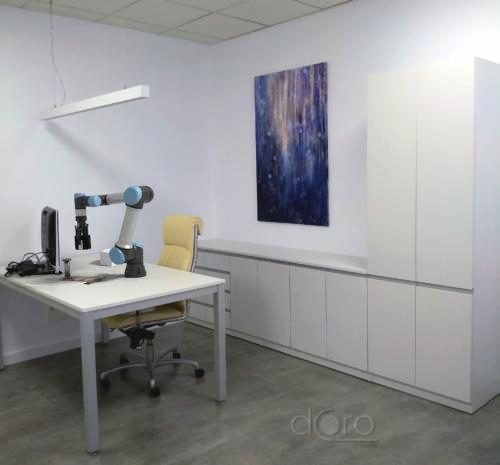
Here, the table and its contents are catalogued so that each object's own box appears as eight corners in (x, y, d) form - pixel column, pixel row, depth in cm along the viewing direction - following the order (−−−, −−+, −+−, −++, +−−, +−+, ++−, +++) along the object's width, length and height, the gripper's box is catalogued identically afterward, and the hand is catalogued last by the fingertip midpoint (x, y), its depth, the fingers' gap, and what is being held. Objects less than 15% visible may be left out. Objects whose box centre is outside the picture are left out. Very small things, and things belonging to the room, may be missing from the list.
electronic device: (88, 249, 370) (87, 235, 369) (75, 249, 372) (74, 235, 371) (91, 249, 374) (90, 234, 373) (78, 249, 376) (77, 234, 375)
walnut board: (103, 279, 360) (102, 277, 360) (90, 284, 346) (90, 281, 346) (68, 278, 368) (67, 275, 367) (54, 282, 353) (54, 279, 353)
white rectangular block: (117, 260, 440) (116, 247, 438) (121, 265, 413) (121, 252, 411) (98, 261, 435) (98, 248, 433) (102, 267, 408) (101, 253, 406)
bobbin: (74, 277, 361) (73, 258, 359) (68, 279, 355) (67, 259, 354) (66, 277, 363) (65, 258, 361) (61, 279, 357) (59, 259, 355)
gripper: (83, 214, 380) (85, 247, 383) (68, 216, 363) (70, 250, 366) (92, 214, 378) (94, 247, 381) (78, 216, 361) (80, 250, 364)
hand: (82, 248), depth 373 cm, fingers closed on electronic device, 4 cm apart
